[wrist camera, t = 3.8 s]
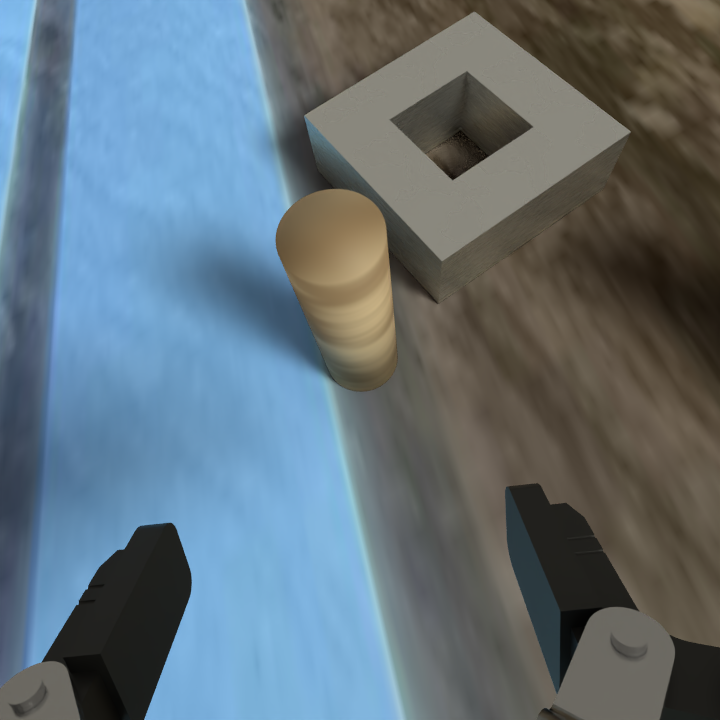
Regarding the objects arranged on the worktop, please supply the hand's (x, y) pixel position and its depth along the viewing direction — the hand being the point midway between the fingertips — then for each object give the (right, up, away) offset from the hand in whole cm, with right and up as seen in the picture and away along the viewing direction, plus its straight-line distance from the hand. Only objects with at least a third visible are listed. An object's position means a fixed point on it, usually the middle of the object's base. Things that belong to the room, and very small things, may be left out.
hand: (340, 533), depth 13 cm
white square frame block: (+7, +17, +24) cm, 31 cm away
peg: (+1, +4, +20) cm, 21 cm away
